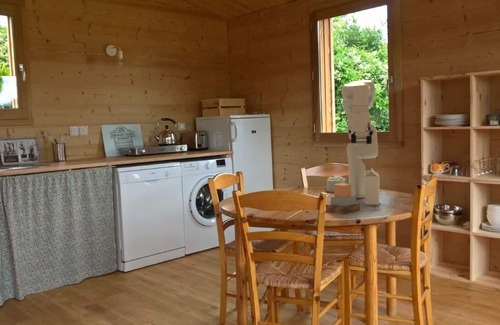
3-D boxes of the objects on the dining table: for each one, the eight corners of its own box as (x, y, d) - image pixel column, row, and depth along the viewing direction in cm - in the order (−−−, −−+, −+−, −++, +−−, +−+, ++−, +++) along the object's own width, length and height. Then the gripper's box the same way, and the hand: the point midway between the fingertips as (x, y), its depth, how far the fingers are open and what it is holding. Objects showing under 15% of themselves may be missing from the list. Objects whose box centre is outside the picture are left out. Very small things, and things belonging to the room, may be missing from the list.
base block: (325, 212, 241) (325, 204, 241) (340, 208, 249) (340, 201, 249) (344, 215, 232) (344, 207, 232) (359, 211, 240) (359, 203, 239)
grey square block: (330, 204, 240) (330, 196, 240) (341, 201, 246) (341, 194, 246) (345, 206, 234) (345, 198, 233) (356, 203, 240) (356, 195, 240)
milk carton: (379, 202, 258) (379, 167, 256) (378, 205, 251) (378, 169, 249) (366, 202, 260) (365, 167, 258) (364, 204, 254) (364, 169, 252)
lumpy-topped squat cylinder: (347, 189, 307) (346, 175, 306) (339, 192, 296) (339, 178, 295) (331, 188, 312) (331, 175, 312) (324, 191, 301) (323, 178, 301)
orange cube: (334, 196, 240) (334, 184, 239) (341, 194, 244) (341, 183, 243) (344, 197, 235) (343, 185, 235) (351, 195, 239) (351, 184, 239)
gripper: (342, 109, 244) (343, 143, 246) (369, 109, 230) (370, 144, 232) (352, 109, 249) (352, 142, 251) (379, 108, 235) (380, 143, 237)
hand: (361, 143), depth 242 cm, fingers open, 9 cm apart
